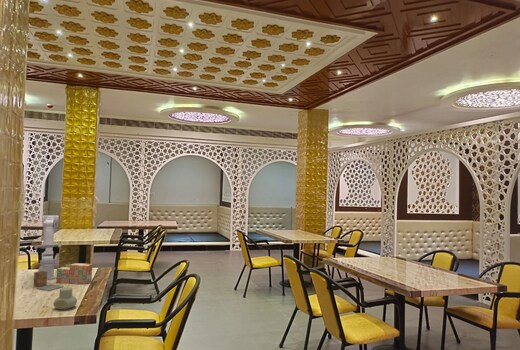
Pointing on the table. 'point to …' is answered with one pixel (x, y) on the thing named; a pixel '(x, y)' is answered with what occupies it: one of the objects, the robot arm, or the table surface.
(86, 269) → the stack of blocks
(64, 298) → the air freshener
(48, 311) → the table surface
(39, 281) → the walnut block
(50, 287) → the slate mat
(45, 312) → the table surface
